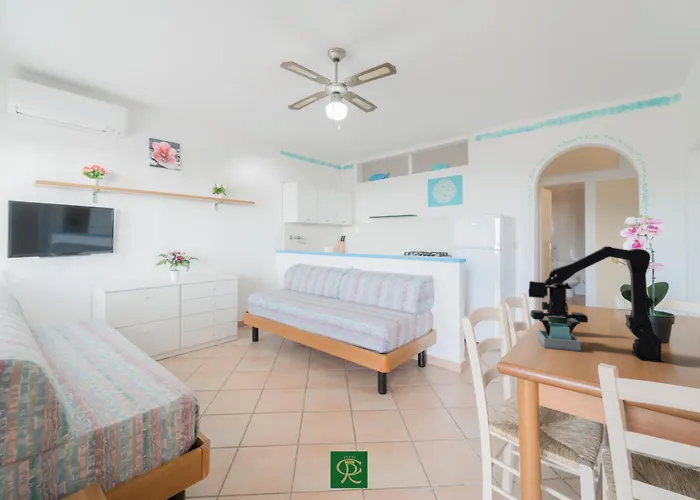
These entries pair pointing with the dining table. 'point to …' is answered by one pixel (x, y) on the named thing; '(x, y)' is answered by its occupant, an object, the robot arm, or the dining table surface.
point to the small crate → (559, 331)
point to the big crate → (559, 342)
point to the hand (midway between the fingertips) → (557, 336)
